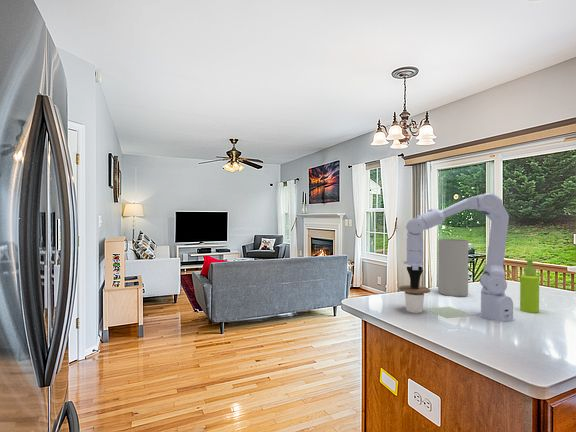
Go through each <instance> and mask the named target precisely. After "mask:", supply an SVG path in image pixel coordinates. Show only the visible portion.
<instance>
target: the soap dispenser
mask: <svg viewBox="0 0 576 432" xmlns="http://www.w3.org/2000/svg"><path fill="white" fill-rule="evenodd" d="M524 261H526V266H524V267H523V268H524V271H523V272H524V274H522V275H520V278H519V281H520V283H519V285H520V286H519V287H520V288H519V292H520V293H519V294H520V295H519V298H520V301H519V302H520V303H519V310H520V311H522V312H525V313H531V314H538V313H540V276H536V267H534V266H533V264H534V263H533V262H534V261H537V262H543V260H542V259H539V258H531V257H530V258H529V257H528V258H524Z"/></svg>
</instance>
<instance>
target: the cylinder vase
mask: <svg viewBox="0 0 576 432" xmlns="http://www.w3.org/2000/svg"><path fill="white" fill-rule="evenodd" d="M437 243H438V246H437V247H438V248H437V250H438V253H437V255H438V256H437V262H438V263H437V292H438V294H440V295H443V296H447V297H456V298H462V297H467V296H468V295H469V240H468V239H458V238H457V239H456V238H455V239H454V238H440V239H438V240H437Z"/></svg>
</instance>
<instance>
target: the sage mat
mask: <svg viewBox="0 0 576 432" xmlns="http://www.w3.org/2000/svg"><path fill="white" fill-rule="evenodd" d="M424 310H425V311H428V312H430V313H433V314H436V315H439V316H440V317H442V318H446V319H451V318H462V317H471V316H474V314H472V313H469V312H466V311H464V310H461V309H457V308H455V307H452V306H441V307H440V306H439V307H430V308H429V307H427V308H424Z"/></svg>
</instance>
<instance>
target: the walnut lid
mask: <svg viewBox="0 0 576 432" xmlns="http://www.w3.org/2000/svg"><path fill="white" fill-rule="evenodd" d="M409 281H410V280H409ZM398 290H399V291H402V292H404V293H405V292H409V293H424V294H429V293H430V292H431V289H430V288H429V287H425V286H422V285H420V284H419V285H418V288H412V287H411V281H410V282H409V284H408V285H400V286H398Z"/></svg>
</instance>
